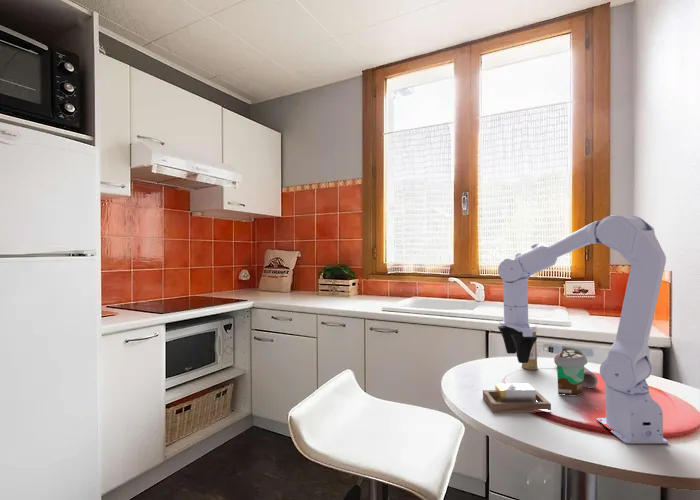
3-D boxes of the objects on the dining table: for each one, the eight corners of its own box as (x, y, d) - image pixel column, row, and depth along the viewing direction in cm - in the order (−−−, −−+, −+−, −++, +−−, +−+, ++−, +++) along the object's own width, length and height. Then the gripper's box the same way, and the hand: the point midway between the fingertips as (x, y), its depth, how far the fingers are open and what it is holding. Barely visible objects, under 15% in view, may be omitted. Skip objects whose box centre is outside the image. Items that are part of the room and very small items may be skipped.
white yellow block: (535, 406, 86) (535, 390, 86) (501, 407, 87) (500, 390, 87) (528, 399, 90) (528, 383, 90) (495, 399, 91) (495, 383, 91)
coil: (599, 373, 96) (570, 353, 113) (579, 371, 97) (554, 351, 114) (597, 391, 96) (568, 367, 114) (578, 388, 97) (552, 366, 114)
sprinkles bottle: (539, 367, 113) (538, 324, 113) (534, 371, 110) (533, 327, 110) (524, 364, 117) (523, 322, 117) (518, 368, 114) (517, 325, 113)
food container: (586, 402, 88) (585, 361, 88) (557, 397, 92) (556, 357, 92) (589, 385, 98) (588, 348, 98) (563, 381, 102) (562, 345, 102)
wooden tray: (551, 412, 84) (550, 403, 84) (493, 412, 85) (492, 404, 85) (535, 397, 92) (535, 389, 92) (482, 398, 93) (482, 390, 93)
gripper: (490, 301, 102) (491, 349, 102) (510, 310, 87) (512, 367, 87) (516, 300, 101) (517, 349, 102) (540, 310, 87) (542, 366, 87)
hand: (517, 357), depth 94 cm, fingers open, 7 cm apart
